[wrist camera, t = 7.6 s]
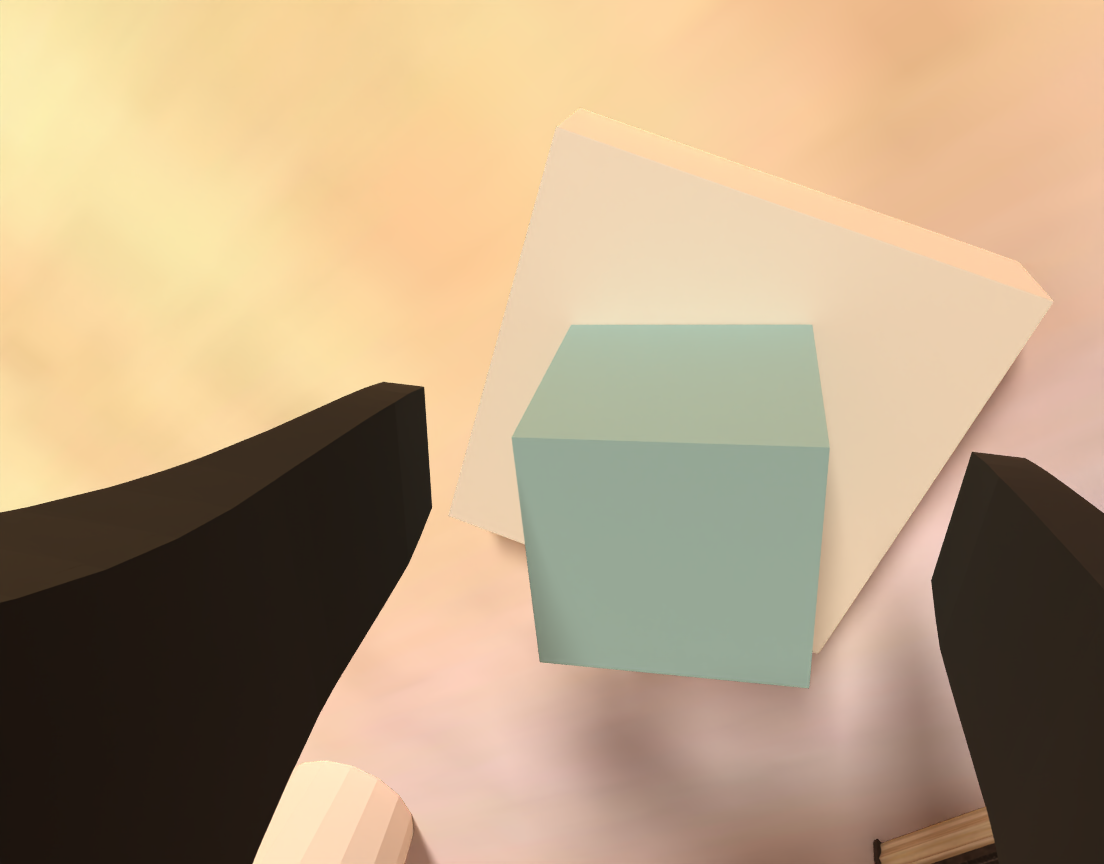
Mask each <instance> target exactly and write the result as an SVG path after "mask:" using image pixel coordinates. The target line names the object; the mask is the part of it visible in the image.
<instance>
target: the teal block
mask: <svg viewBox="0 0 1104 864" xmlns="http://www.w3.org/2000/svg"><path fill="white" fill-rule="evenodd" d="M512 445H513V453H514V461H515V469H516V477H517V485H518V493H519V501H520V509H521V517H522V525H523V533H524V541H525V548H526V556H527V564H528V572H529V580H530V588H531V596H532V604H533V612H534V620H535V628H536V636H537V644H538V652H539V660H540V662H543V663H553V664H564V665H574V666H584V667H595V668H605V669H615V670H625V671H636V672H646V673H656V674H667V675H677V676H687V677H698V678H708V679H718V680H728V681H739V682H749V683H759V684H770V685H780V686H790V687H801V688H809V684H810V673H811V661H812V649H813V638H814V626H815V614H816V603H817V591H818V579H819V567H820V556H821V544H822V532H823V521H824V509H825V497H826V486H827V474H828V462H829V451H830V446H829V439H828V431H827V424H826V417H825V410H824V403H823V396H822V389H821V382H820V375H819V368H818V361H817V354H816V347H815V340H814V333H813V326H812V325H571V326H570V328H569V330H568V331H567V333H566V335H565V337H564V339H563V341H562V343H561V345H560V347H559V348H558V350H557V352H556V354H555V356H554V358H553V360H552V362H551V364H550V365H549V367H548V369H547V371H546V373H545V375H544V377H543V379H542V381H541V382H540V384H539V386H538V388H537V390H536V392H535V394H534V396H533V398H532V399H531V401H530V403H529V405H528V407H527V409H526V411H525V413H524V415H523V417H522V418H521V420H520V422H519V424H518V426H517V428H516V430H515V432H514V434H513V435H512Z"/></svg>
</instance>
